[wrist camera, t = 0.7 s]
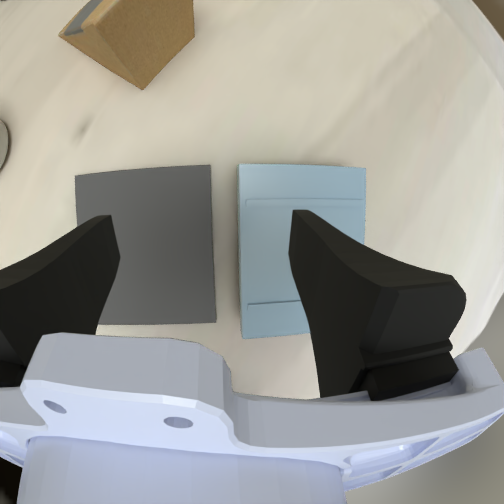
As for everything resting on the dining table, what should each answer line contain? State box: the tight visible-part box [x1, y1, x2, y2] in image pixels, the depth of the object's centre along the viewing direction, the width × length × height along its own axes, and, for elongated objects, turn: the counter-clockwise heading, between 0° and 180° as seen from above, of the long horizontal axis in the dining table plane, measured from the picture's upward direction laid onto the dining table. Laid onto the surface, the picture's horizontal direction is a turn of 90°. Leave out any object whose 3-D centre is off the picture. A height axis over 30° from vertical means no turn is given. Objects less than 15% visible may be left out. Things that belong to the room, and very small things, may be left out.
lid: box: [237, 164, 366, 339], centre depth 26 cm, size 15×11×5 cm
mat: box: [75, 165, 216, 325], centre depth 29 cm, size 16×14×1 cm
